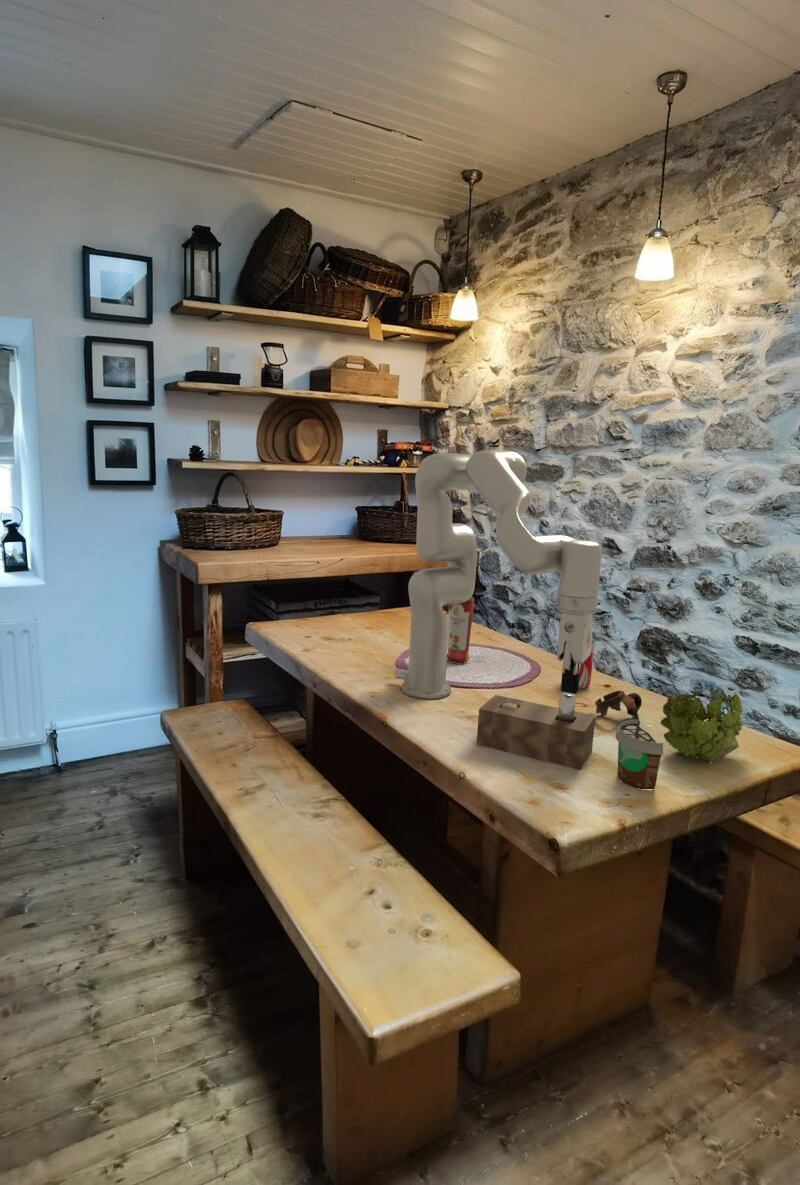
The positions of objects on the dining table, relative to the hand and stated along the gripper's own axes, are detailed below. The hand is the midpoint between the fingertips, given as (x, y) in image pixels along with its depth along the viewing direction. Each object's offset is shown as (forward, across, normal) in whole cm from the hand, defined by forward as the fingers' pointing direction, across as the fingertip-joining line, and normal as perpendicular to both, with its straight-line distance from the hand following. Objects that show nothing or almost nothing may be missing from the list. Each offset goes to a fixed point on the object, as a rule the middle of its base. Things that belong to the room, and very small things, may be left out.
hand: (569, 691), depth 143 cm
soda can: (+14, +46, +8) cm, 49 cm away
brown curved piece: (+14, +27, -6) cm, 31 cm away
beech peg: (+13, 0, +12) cm, 18 cm away
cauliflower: (+14, +16, -24) cm, 33 cm away
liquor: (+13, +47, +43) cm, 65 cm away
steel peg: (+8, 0, 0) cm, 8 cm away
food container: (+14, -4, -14) cm, 20 cm away
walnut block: (+14, 0, +6) cm, 15 cm away
